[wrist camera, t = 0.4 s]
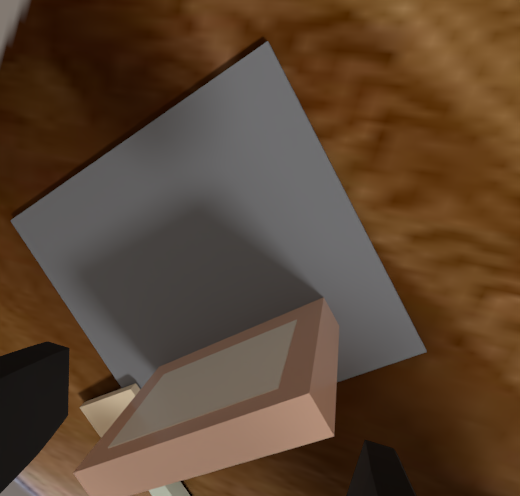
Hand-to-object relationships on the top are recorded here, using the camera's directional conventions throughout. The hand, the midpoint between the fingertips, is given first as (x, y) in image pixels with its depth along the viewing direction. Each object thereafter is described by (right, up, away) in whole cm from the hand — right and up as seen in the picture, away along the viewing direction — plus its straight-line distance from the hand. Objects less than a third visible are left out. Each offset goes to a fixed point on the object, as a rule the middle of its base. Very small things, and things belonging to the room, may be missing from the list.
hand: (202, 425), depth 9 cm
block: (0, -1, +11) cm, 11 cm away
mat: (-1, +3, +10) cm, 11 cm away
